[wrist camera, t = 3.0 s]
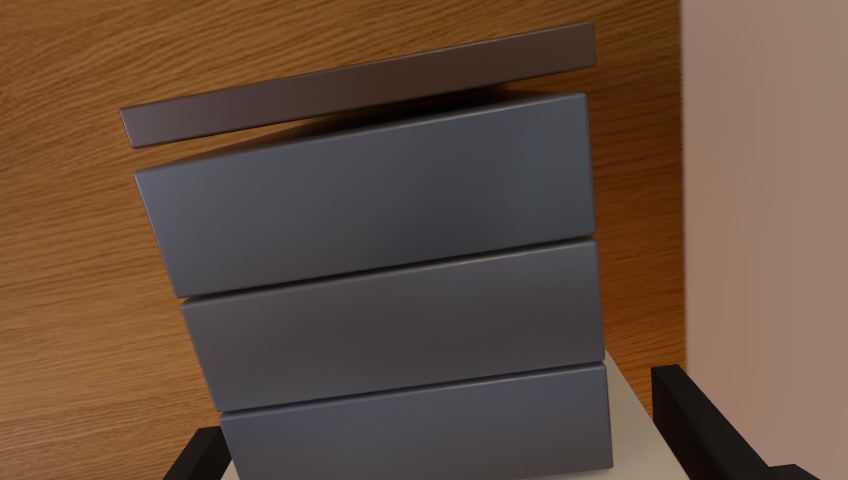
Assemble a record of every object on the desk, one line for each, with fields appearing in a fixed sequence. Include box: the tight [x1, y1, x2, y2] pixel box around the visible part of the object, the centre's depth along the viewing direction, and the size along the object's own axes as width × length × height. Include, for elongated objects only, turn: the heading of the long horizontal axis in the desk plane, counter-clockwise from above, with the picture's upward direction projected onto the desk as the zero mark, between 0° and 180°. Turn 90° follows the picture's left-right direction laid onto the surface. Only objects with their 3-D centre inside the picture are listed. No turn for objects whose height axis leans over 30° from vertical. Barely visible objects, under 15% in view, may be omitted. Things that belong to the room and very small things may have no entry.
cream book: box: [221, 348, 690, 480], centre depth 16 cm, size 2×11×16 cm, turn 100°
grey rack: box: [119, 20, 614, 480], centre depth 16 cm, size 13×9×13 cm
